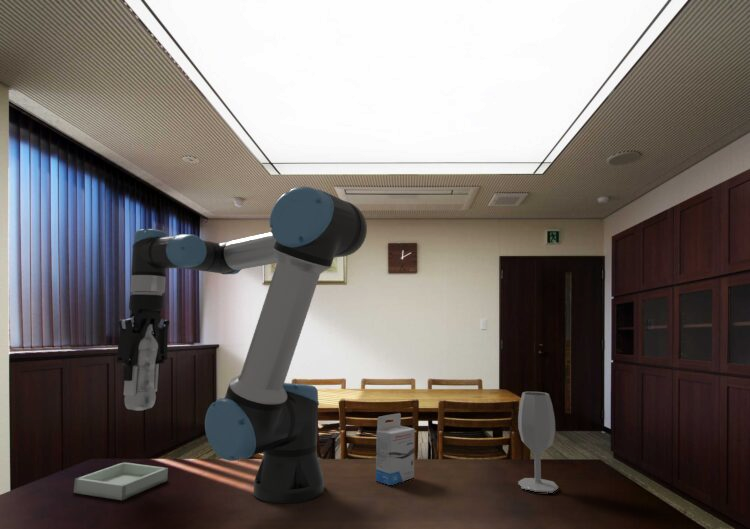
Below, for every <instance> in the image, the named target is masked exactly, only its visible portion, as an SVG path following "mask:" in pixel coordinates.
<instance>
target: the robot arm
mask: <svg viewBox="0 0 750 529" xmlns="http://www.w3.org/2000/svg"><path fill="white" fill-rule="evenodd" d="M269 228H271V230H270V231H269V232H265V233H261V234H256V235H255V234H254V235H251V236H247V237H246V236H245V237H243V238H238V239H233V240H230V241H229V240H228V241H224V242H214V241H209V240H204V239H202V238H201V237H199V236H198V235H195V234H186V233H182V234H181V233H180V234H177V235H172V236H169V234H168V233H167V232H166V231H164V230H161V229H152V228H147V229H145V228H142V229H138V230H136V231H135V233H134V238H133V244H132V256H131V257H132V258H131V260H132V261H131V276H130V287H129V288H130V290H129V291H130V293H132V294H130V296H129V303H128V309H129V311H131V312H130V316H129V318H126V319H119V321H118V325H119V337H118V346H117V352H116V360H115V362H116V364H118V365H119V366H120V367H121V366H122V367H123V373H122V374H123V375H122V379H123V382H124V385H123V396H125V395H127V396H135V395H136V383H137V369H138V366H134V365H135V362H136V359H137V356H138V352H139V344H140V342H141V340H142V338H144V337H145V335H146V331H147V328H148V326H149V324H153V329H154V330H153V331H152V335H153V336H154V337H155V339H156V341H157V343H158V350H157V356H156V361H155V368H154V389H155V393H156V392H158V382H159V377H160V372H161V371H160V370H161V365H162V364H164V363H165V361H167V360H168V343H169V342H168V341H169V340H168V338H169V337H168V336H169V335H168V333H169V331H168V330H169V326H170V320H168V319H164V318H163V319H162V315H161V312H162V311H164V307H165V296H164V295H163V294H164V293H165V292H166V280H167V279H166V276H167V274H166V273H167V269H183V270H193V271H199V272H200V271H201V272H208V273H215V274H216V273H217V274H221V275H236V274H239V272H240V271H242V270H245V269H246V270H247V269H251V268H256V267H262V266H267V265H272V264H273V265H274V264H276V265H275V268H274V271H273V274H272V277H271V280H270V283H269V287H268V289H267V293H266V295H265V299H264V302H263V305H262V308H261V311H260V314H259V317H258V320H257V323H256V326H255V330H254V332H253V336H252V338H251V341H250V344H249V347H248V351H247V354H246V357H245V360H244V363H243V366H242V370H241V372H240V374H239V375H237V376H235V377H233V378H231V379H230V381H229V384H228V386H227V390H226V393H225V395H224V396H225V397H224V398H222V397H220V398H218V399H217V400H216V401H214V402H212V403H211V404H210V405H209V407H208V408H207V411H206V412H205V413H206V414H205V418H204V429H205V430H204V432H205V435H206V437H207V440H208V444H209V446H210V448H211V449H212V450H213V451H214V453H215V454H216V455H217V456H218V457H220V458H221V459H223V460H225V461H230V462H235V461H239V460H248V459H249V458H251V457H252V456H256V455H258V454H261V453H263V454H262V458H261V461H260V463H259V467H258V469H257V472H256V476H255V478H254V481H253V495H254V497H256V498H257V499H258V500H261V501H263V502H268V503H275V504H293V503H295V504H296V503H301V502H306V501H309V500H312V499H315V498H318V497H319V496H320V495H322V494H323V492H324V490H325V488H324V486H325V485H324V484H325V479H324V474H323V471H322V468H321V465H320V461H319V457H318V452H317V450H318V448H317V447H318V446H317V445H318V419H319V418H318V417H319V416H318V415H319V405H320V402H319V393H318V389H317V388H316V386H314V385H311V384H302V383H290V382H286V378H287V376H288V373H289V369H290V366H291V364H292V361H293V357H294V354H295V351H296V348H297V345H298V342H299V339H300V336H301V333H302V330H303V327H304V324H305V321H306V319H307V315H308V312H309V309H310V307H311V303H312V300H313V297H314V294H315V291H316V289H317V285H318V282H319V278H320V276H321V274H322V273H324V272H326V271H328V270H329V269H331V267H332V265H333V262H334V258H342V257H343V258H344V257H347V256H350V255H353V254H355V253H356V252H357V251H358V250H360V248H362V246H363V244H364V242H365V240H366V237H367V233H368V232H367V231H368V229H367V228H368V226H367V221H366V218H365V215H364V214H363V212H362V211H361V210H360V209H359V208H358V207H357V206H356V205H354V204H353V203H351V202H349V201H346V200H343V199H341V198H339V197H337V196H335V195H333V194H330V193H328V192H326V191H323V190H321V189H318V188H314V187H311V186H297V187H294V188H291V189H290V190H289V191H286V192H284V193H283V194H282V195H281V196H280V197H279V198H278V199H277V200H276V202H275V203H274V206H273V207H272V210H271V212H270V216H269ZM129 359H130V360H129Z"/></svg>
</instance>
